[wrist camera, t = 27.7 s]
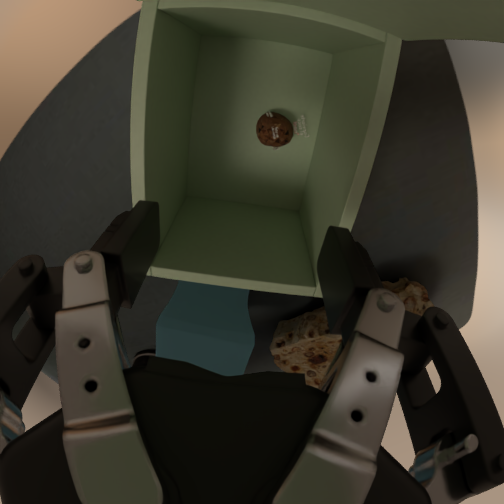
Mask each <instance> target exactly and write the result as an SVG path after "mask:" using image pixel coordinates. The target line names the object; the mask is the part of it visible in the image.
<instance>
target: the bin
mask: <svg viewBox="0 0 504 504" xmlns="http://www.w3.org/2000/svg"><path fill="white" fill-rule="evenodd" d="M401 43H402V39H401V38H398V37H396V36H394V35H391V34H389V33H386V32H384V31H381V30H379V29H376V28H373V27H371V26H368V25H365V24H362V23H359V22H356V21H353V20H350V19H347V18H343V17H340V16H336V15H333V14H329V13H325V12H321V11H317V10H313V9H309V8H304V7H299V6H294V5H288V4H283V3H276V2H269V1H262V0H143V3H142V8H141V13H140V19H139V26H138V33H137V40H136V49H135V58H134V68H133V80H132V96H131V124H130V157H131V186H132V203H133V207H134V206H135V205H136V203H137V202H138V201H139V200H145V201H155V202H158V203H159V215H160V244H159V249H158V251H157V253H156V255H155V257H154V260H153V262H152V264H151V266H150V268H149V270H148V272H147V274H146V275H148V276H151V275H152V276H156V277H162V278H169V279H175V280H182V281H189V282H196V283H203V284H211V285H218V286H226V287H233V288H241V289H249V290H258V291H266V292H275V293H284V294H293V295H303V296H313V297H321V298H323V297H322V292H321V288H320V283H319V279H318V275H317V260H318V256H319V253H320V250H321V247H322V244H323V241H324V238H325V235H326V232H327V229H328V227H329V226H337V227H343V228H348V229H349V231H350V233H351V230H352V227H353V224H354V221H355V219H356V216H357V213H358V210H359V207H360V204H361V201H362V198H363V195H364V192H365V189H366V186H367V183H368V179H369V176H370V173H371V170H372V166H373V163H374V160H375V156H376V153H377V149H378V146H379V142H380V138H381V135H382V131H383V127H384V123H385V119H386V115H387V111H388V107H389V103H390V99H391V94H392V90H393V85H394V80H395V76H396V71H397V66H398V60H399V55H400V49H401ZM269 111H270V112H275V113H279V114H281V115H283V116H285V117H286V118H287V119H288V120H289V121H290V122H291V124H292V126H293V122H296V121H297V123H296V124H297V126H296V127H297V133H299V135H297V133H295V134H294V129H293V137H292V139H291V141H290V142H289V143H288V144H286V145H284V146H281V147H278V148H279V149H278V150H277V149H276V150H273V148H272V146H265V145H263V144H262V143H261V142H260V141H259V139H258V137H257V134H256V124H257V121H258V120H259V118H260V117H261V116H262V115H263V114H265V113H267V112H269ZM301 115H304V118H305V119H304V121H303V119H301V118H303V117H301ZM298 120H300V121H298ZM302 121H303V122H305V124H302ZM298 122H299V123H300V122H301V123H300V124H301V125H299V124H298ZM303 125H304V126H305V127H306V128H303V127H304V126H303ZM299 126H301V127H302V129H299ZM301 127H300V128H301ZM293 128H294V126H293ZM305 129H306V131H305V134H304V132H301V131H304V130H305ZM295 132H296V131H295ZM300 133H303V135H300ZM306 133H307V134H306ZM305 135H306V136H309V137H304V136H305ZM274 148H275V147H274Z"/></svg>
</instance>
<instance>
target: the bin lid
mask: <svg viewBox="0 0 504 504" xmlns="http://www.w3.org/2000/svg"><path fill="white" fill-rule="evenodd" d="M137 1H143V0H137ZM262 1H269V2H276V3H283V4H288V5H294V6H299V7H304V8H309V9H313V10H317V11H321V12H325V13H329V14H333V15H336V16H340V17H343V18H347V19H350V20H353V21H356V22H359V23H362V24H365V25H368V26H371V27H373V28H376V29H379V30H381V31H384V32H386V33H389V34H391V35H394V36H396V37H398V38H401V39H403V40H405V41H413V40H435V39H458V40H479V41H491V42H500V43H504V0H262Z"/></svg>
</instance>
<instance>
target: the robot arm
mask: <svg viewBox="0 0 504 504" xmlns="http://www.w3.org/2000/svg"><path fill="white" fill-rule="evenodd" d="M159 244H160V215H159V203H158V202H155V201H145V200H139V201H138V202H137V203H136V205H135V206H134V207H133V208H132V210H131V211H125V212H123V213H122V214H120V215H118V216H117V217H116V218H115V219H114V220H113V221H112V222H111V224H110V226H108V227H107V229H106V230H105V232H103V234H102V235H101V236H100V238H99V239H98V240H97V241H96V243H95V244H94V245H93V247H92V248H91V249H90V250H86V251H81V252H78V253H76V254H74V255H72V256H71V257H69V258H68V259H67V261H66V262H65V264H64V266H60V267H48V268H46V266H45V263H44V260H43V258H42V257H41V256H39V255H28V256H25V257H23V258H21V259H19V260H18V261H17V262H16V263H15V264H14V265H13V266H12V267H11V268H10V269H9V270H8V271H7V272H6V274H5V275H4V276H3V277H2V278H1V279H0V496H1V501H2V504H459V503H460V502H462V501H463V500H465V499H467V498H469V497H472V496H475V495H477V494H480V493H482V492H484V491H487V490H489V489H491V488H494V487H496V486H498V485H501V484H502V483H504V428H503V425H502V422H501V419H500V416H499V414H498V411H497V409H496V406H495V404H494V401H493V399H492V396H491V394H490V392H489V389H488V387H487V385H486V383H485V380H484V378H483V376H482V374H481V372H480V370H479V368H478V366H477V363H476V361H475V359H474V358H473V356H472V354H471V352H470V350H469V348H468V346H467V344H466V342H465V340H464V338H463V337H462V335H461V333H460V331H459V329H458V328H457V326H456V324H455V322H454V321H453V319H452V318H451V316H450V315H449V314H448V313H447V312H445V311H444V310H442V309H440V308H438V307H429V308H427V309H426V311H425V312H424V314H423V315H422V316H421V315H418V314H415V313H412V312H409V311H406V310H405V306H404V303H403V302H402V300H401V299H400V298H399V297H398V296H397V295H396V294H395V293H393V292H392V291H390V290H387V289H384V287H383V285H382V282H381V280H380V278H379V276H378V274H377V271H376V269H375V268H374V265H373V263H372V261H371V260H370V257H369V255H368V253H367V251H366V249H365V248H364V247H363V246H362V245H361V244H360V243H358V242H355V241H354V239H353V237H352V235H351V233H350V231H349V229H348V228H343V227H337V226H329V227H328V229H327V232H326V235H325V238H324V241H323V244H322V247H321V250H320V253H319V256H318V260H317V275H318V279H319V283H320V288H321V292H322V297H323V301H324V306H325V311H326V316H327V320H328V325H329V330H330V334H334V335H341V336H342V341H341V342H340V344H339V346H338V348H337V350H336V352H335V354H334V356H333V359H332V361H331V363H330V365H329V367H328V369H327V371H326V373H325V375H324V377H323V379H322V381H321V383H320V385H319V386H318V388H315V387H313V386H310V385H306V381H305V373H286V372H270V371H266V372H259V373H252V374H244V375H236V376H224V375H220V374H218V373H215V372H212V371H209V370H207V369H204V368H201V367H199V366H196V365H194V364H191V363H189V362H185V361H179V360H174V359H168V358H163V357H157V356H156V352H155V351H143V352H139V353H137V354H136V355H135V358H134V361H133V366H132V367H131V366H130V363H129V359H128V356H127V352H126V348H125V344H124V340H123V336H122V331H121V327H120V322H119V318H118V314H117V313H118V311H119V309H120V307H124V308H129V309H131V308H132V305H133V303H134V301H135V298H136V296H137V294H138V292H139V289H140V287H141V285H142V283H143V281H144V279H145V276H146V274H147V272H148V270H149V268H150V266H151V264H152V262H153V260H154V257H155V255H156V253H157V251H158V249H159ZM25 310H27V311H28V313H29V315H30V318H29V320H28V321H27V322H26V324H25V325H24V327H23V328H22V330H21V331H20V333H19V334H18V336H17V337H16V339H15V341H13V339H12V330H13V327H14V325H15V324H16V322H17V321H18V319H19V318H20V316H21V315H22V314H23V312H24V311H25ZM55 344H56V359H57V371H58V381H59V390H60V397H61V404H62V408H61V409H59V410H58V411H56V412H55V413H53V414H52V415H50V416H49V417H47V418H46V419H44V420H43V421H41V422H40V423H38V424H36V425H35V426H33V427H32V428H30V429H29V430H27V431H26V432H25V425H24V423H23V422H22V412H21V409H22V407H23V405H24V403H25V401H26V399H27V397H28V394H29V392H30V390H31V388H32V386H33V384H34V383H35V381H36V379H37V377H38V375H39V373H40V371H41V369H42V367H43V366H44V364H45V362H46V360H47V358H48V357H49V355H50V353H51V351H52V350H53V348H54V346H55ZM431 360H433V363H434V365H435V367H436V369H437V372H438V374H439V376H440V379H441V387H440V390H439V392H438V393H437V394H436V392H435V390H434V387H433V385H432V382H431V380H430V378H429V375H428V372H427V370H426V368H425V367H426V366H427V365H428V364H429V362H430V361H431ZM396 392H397V395H398V398H399V401H400V404H401V407H402V410H403V413H404V416H405V420H406V423H407V427H408V430H409V433H410V437H411V440H412V444H413V448H414V451H415V455H416V457H415V459H414V463H413V465H412V466H411V467H410V468H409V471H407V470H406V469H405V468H404V467H403V466H402V465H401V464H400V463H399V462H398V461H397V460H396V459H394V457H392V456H391V455H390V454H389V453H388V452H387V451H386V450H385V449H384V448H383V447H382V446H381V442H382V439H383V436H384V432H385V430H386V427H387V423H388V420H389V417H390V414H391V410H392V406H393V403H394V399H395V395H396Z"/></svg>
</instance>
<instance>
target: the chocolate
mask: <svg viewBox="0 0 504 504" xmlns="http://www.w3.org/2000/svg"><path fill="white" fill-rule="evenodd" d="M301 117H303V118H301V119H303V121H304V119H305V118H304V115H301ZM298 121H300V120H298ZM303 121H302V124H305V122H303ZM296 123H297V121H296V122H293V126H294V128H293V126H292V124H291V122H290V121H289V120H288V119H287V118H286V117H285V116H283V115H281V114H279V113H275V112H270V111H269V112H267V113H265V114H263V115H262V116H261V117H260V118H259V120H258V121H257V124H256V134H257V137H258V139H259V141H260V142H261V143H262V144H263V145H265V146H272V148H273V150H276V149H277V150H278V149H279V148H278V147H281V146H284V145H286V144H288V143H289V142H290V141H291V139H292V137H293V129H294V134H295V133H297V127H296V126H297V124H296ZM300 123H301V122H300ZM300 123H299V122H298V124H299V125H301V124H300ZM303 126H304V125H303ZM300 127H301V126H299V129H302V127H301V128H300ZM303 128H306V127H305V126H304V127H303ZM295 131H296V132H295ZM305 131H306V129H305V130H304V131H301V132H304V134H305ZM306 134H307V133H306ZM297 135H299V133H297ZM300 135H303V133H300ZM304 137H309V136H306V135H305V136H304ZM274 147H275V148H274Z"/></svg>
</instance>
